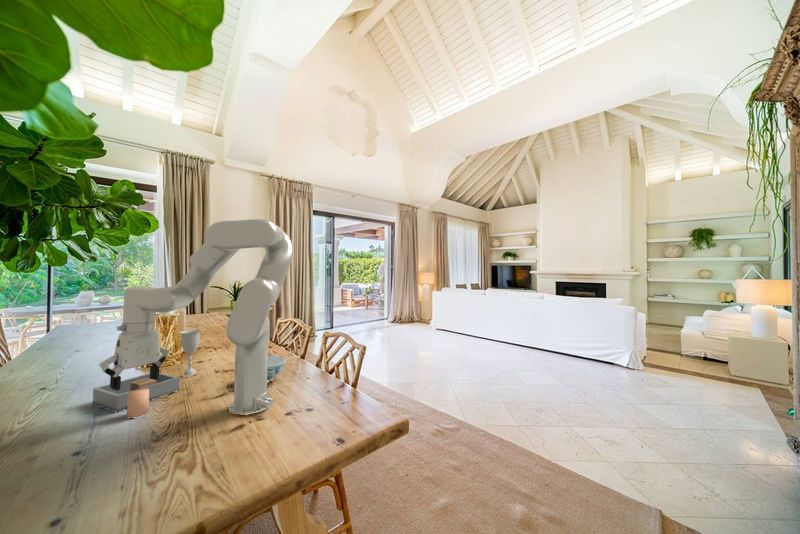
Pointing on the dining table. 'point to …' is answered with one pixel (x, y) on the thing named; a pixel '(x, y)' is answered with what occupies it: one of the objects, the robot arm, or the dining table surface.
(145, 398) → the terracotta cylinder
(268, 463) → the dining table surface
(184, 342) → the chalice
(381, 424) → the dining table surface
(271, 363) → the chinaware
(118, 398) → the tray
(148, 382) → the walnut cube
